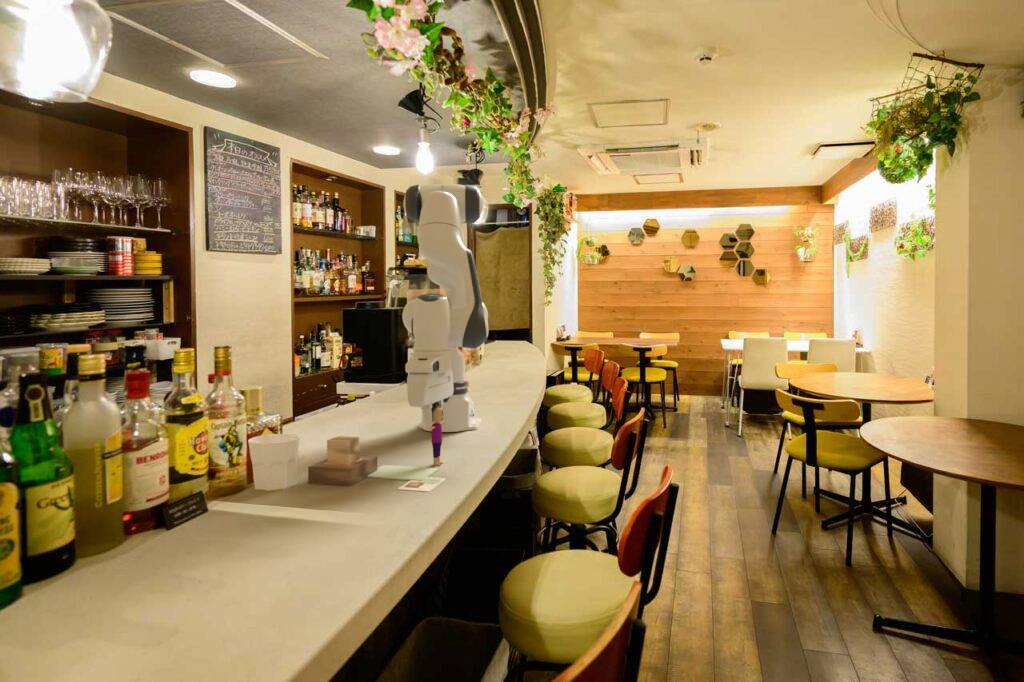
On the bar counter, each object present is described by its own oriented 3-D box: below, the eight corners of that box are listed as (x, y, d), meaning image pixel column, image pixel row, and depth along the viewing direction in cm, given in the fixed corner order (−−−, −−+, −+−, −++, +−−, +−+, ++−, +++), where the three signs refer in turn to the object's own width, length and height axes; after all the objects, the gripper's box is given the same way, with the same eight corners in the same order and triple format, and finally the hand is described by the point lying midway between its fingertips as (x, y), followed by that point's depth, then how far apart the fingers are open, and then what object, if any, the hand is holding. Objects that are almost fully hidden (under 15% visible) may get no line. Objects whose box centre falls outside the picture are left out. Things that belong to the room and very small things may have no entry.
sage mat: (383, 466, 144) (383, 465, 144) (438, 469, 141) (438, 468, 141) (362, 477, 134) (362, 475, 134) (421, 481, 131) (421, 479, 131)
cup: (310, 481, 132) (309, 435, 131) (278, 493, 122) (277, 444, 122) (272, 477, 135) (271, 432, 134) (238, 489, 125) (237, 441, 125)
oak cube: (339, 457, 137) (339, 435, 137) (359, 459, 136) (359, 436, 136) (327, 463, 133) (326, 440, 132) (348, 464, 131) (347, 441, 131)
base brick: (338, 469, 141) (337, 454, 141) (377, 471, 139) (377, 456, 139) (308, 482, 130) (308, 466, 130) (350, 486, 127) (350, 469, 127)
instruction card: (416, 476, 134) (416, 475, 134) (446, 478, 133) (446, 477, 133) (397, 489, 125) (397, 488, 125) (429, 491, 123) (429, 490, 123)
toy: (437, 470, 140) (436, 405, 139) (414, 469, 141) (413, 404, 140) (450, 460, 150) (450, 399, 149) (429, 459, 151) (428, 399, 150)
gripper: (436, 359, 155) (436, 413, 156) (401, 365, 135) (402, 427, 136) (459, 359, 153) (459, 414, 154) (428, 366, 134) (429, 428, 134)
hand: (432, 420), depth 145 cm, fingers closed on toy, 4 cm apart
